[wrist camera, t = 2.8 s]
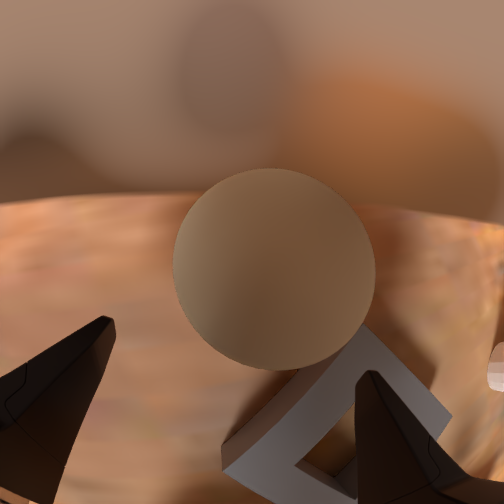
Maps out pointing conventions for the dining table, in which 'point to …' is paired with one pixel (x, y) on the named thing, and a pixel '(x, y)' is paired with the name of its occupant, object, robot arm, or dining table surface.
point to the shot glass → (496, 368)
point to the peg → (274, 269)
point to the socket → (319, 424)
